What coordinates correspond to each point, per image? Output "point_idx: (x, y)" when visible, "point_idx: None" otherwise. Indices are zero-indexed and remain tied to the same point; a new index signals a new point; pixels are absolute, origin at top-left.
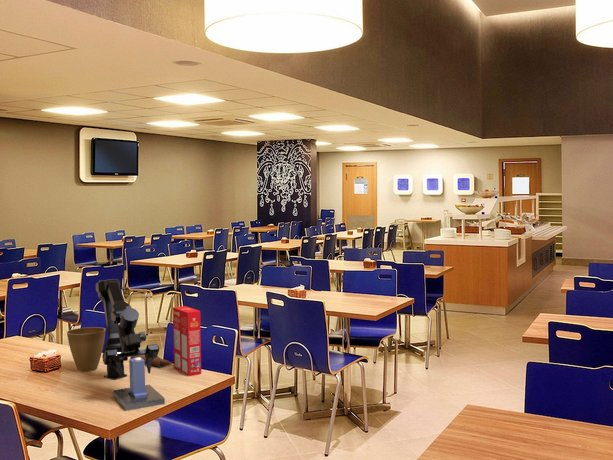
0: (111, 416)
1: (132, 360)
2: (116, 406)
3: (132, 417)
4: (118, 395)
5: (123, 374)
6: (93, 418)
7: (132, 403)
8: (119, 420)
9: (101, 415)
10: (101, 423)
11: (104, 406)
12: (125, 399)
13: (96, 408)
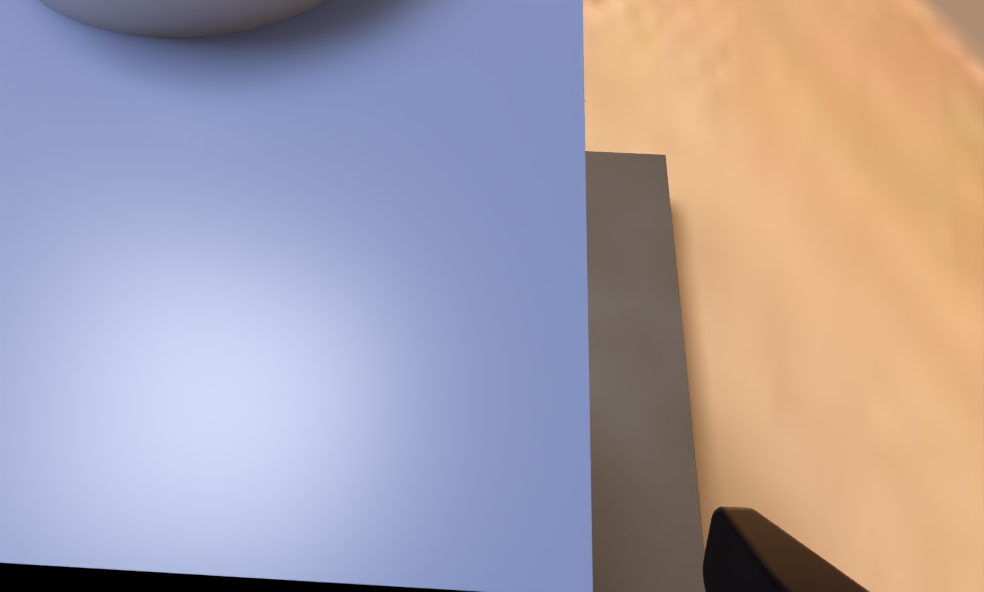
0: (801, 125)
1: (491, 33)
2: (722, 386)
3: (627, 20)
4: (693, 590)
5: (735, 522)
6: (972, 160)
7: (585, 152)
8: (742, 13)
9: (897, 196)
10: (892, 25)
11: (867, 473)
12: (630, 332)
13: (966, 450)
